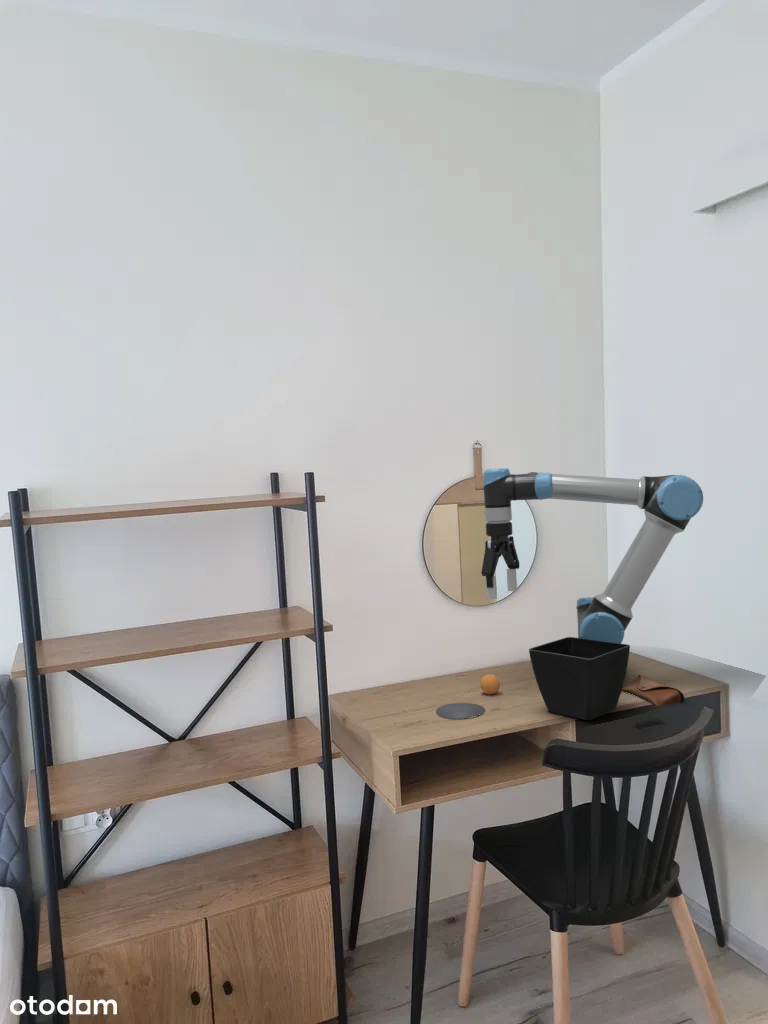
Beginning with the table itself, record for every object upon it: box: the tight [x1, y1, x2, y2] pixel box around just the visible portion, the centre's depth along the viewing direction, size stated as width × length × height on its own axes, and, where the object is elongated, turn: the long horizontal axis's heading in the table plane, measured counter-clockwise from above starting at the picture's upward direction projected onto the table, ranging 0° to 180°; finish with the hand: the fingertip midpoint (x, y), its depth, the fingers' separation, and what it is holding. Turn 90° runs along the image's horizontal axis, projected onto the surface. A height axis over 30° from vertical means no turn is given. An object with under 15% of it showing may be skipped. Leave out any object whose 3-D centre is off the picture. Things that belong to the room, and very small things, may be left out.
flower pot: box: [528, 636, 631, 721], centre depth 196 cm, size 19×19×17 cm
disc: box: [435, 702, 486, 720], centre depth 201 cm, size 13×13×1 cm
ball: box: [479, 673, 501, 695], centre depth 215 cm, size 6×6×6 cm
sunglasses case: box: [621, 674, 685, 707], centre depth 205 cm, size 18×7×7 cm
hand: (502, 595), depth 221 cm, fingers open, 13 cm apart
